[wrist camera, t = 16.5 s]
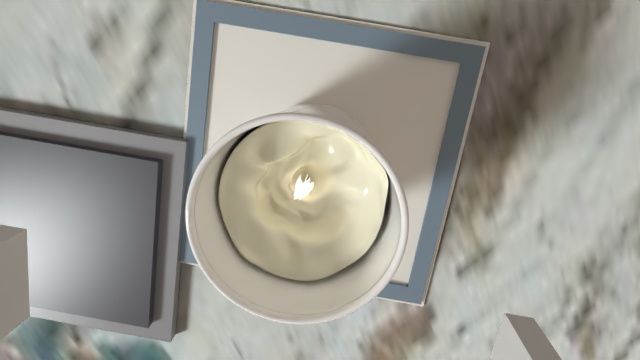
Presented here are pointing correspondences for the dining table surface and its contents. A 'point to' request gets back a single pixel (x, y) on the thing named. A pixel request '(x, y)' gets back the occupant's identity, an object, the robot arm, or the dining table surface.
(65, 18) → the dining table surface
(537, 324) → the robot arm
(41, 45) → the dining table surface
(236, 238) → the candle holder
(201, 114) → the marked square
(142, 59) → the dining table surface
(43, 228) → the ink pad
